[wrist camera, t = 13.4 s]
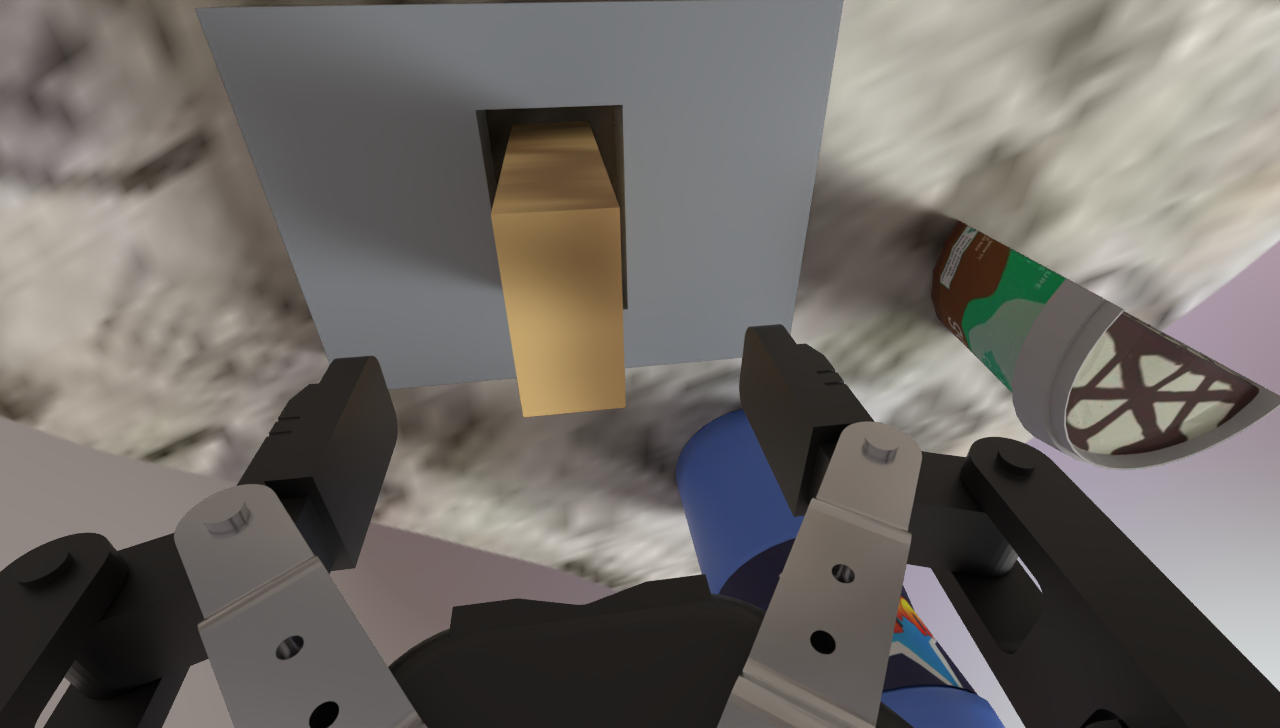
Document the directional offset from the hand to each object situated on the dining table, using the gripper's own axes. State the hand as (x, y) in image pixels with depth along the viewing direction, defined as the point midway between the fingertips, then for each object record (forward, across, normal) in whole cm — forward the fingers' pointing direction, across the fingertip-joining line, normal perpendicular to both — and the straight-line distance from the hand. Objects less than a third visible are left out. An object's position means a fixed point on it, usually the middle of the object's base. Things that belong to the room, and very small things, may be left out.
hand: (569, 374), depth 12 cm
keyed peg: (+14, 0, 0) cm, 14 cm away
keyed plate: (+14, 0, 0) cm, 14 cm away
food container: (+14, -22, +7) cm, 27 cm away
